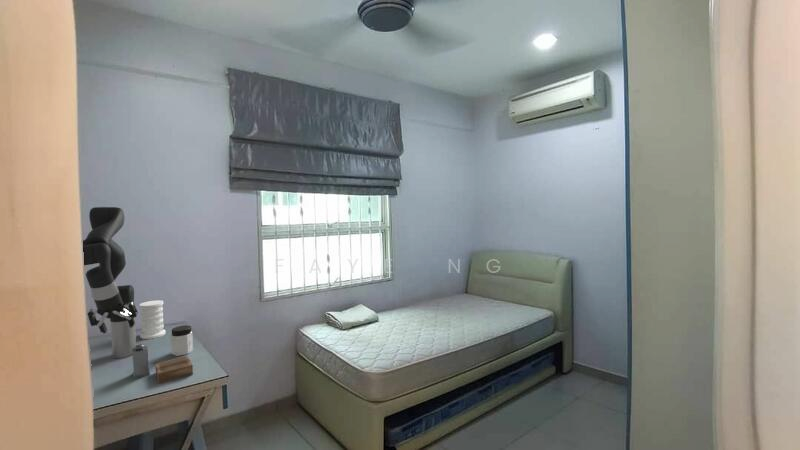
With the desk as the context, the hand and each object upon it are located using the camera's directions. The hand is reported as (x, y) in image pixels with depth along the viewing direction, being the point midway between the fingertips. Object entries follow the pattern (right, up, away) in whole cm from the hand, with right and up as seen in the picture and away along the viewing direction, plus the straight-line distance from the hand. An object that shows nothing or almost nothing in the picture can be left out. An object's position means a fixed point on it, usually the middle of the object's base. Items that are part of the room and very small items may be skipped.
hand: (118, 329), depth 139 cm
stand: (+13, -23, +13) cm, 29 cm away
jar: (+4, -22, +35) cm, 41 cm away
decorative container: (-27, -20, +58) cm, 67 cm away
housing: (0, -23, +12) cm, 26 cm away
